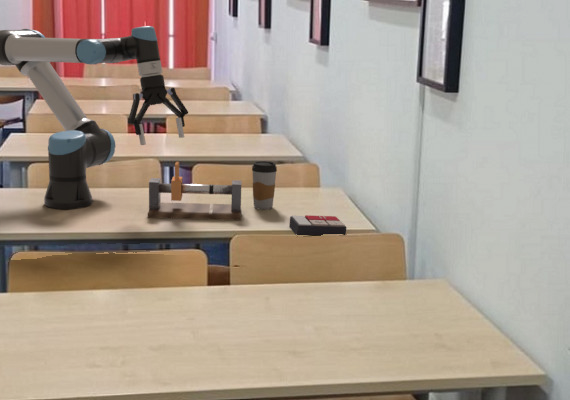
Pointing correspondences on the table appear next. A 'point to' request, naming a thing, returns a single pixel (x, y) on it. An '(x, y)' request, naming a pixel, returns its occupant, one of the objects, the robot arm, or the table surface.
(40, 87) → the robot arm
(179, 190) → the orange slotted block
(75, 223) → the table surface
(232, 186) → the pipe
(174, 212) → the base board
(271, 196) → the coffee cup
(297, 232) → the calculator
